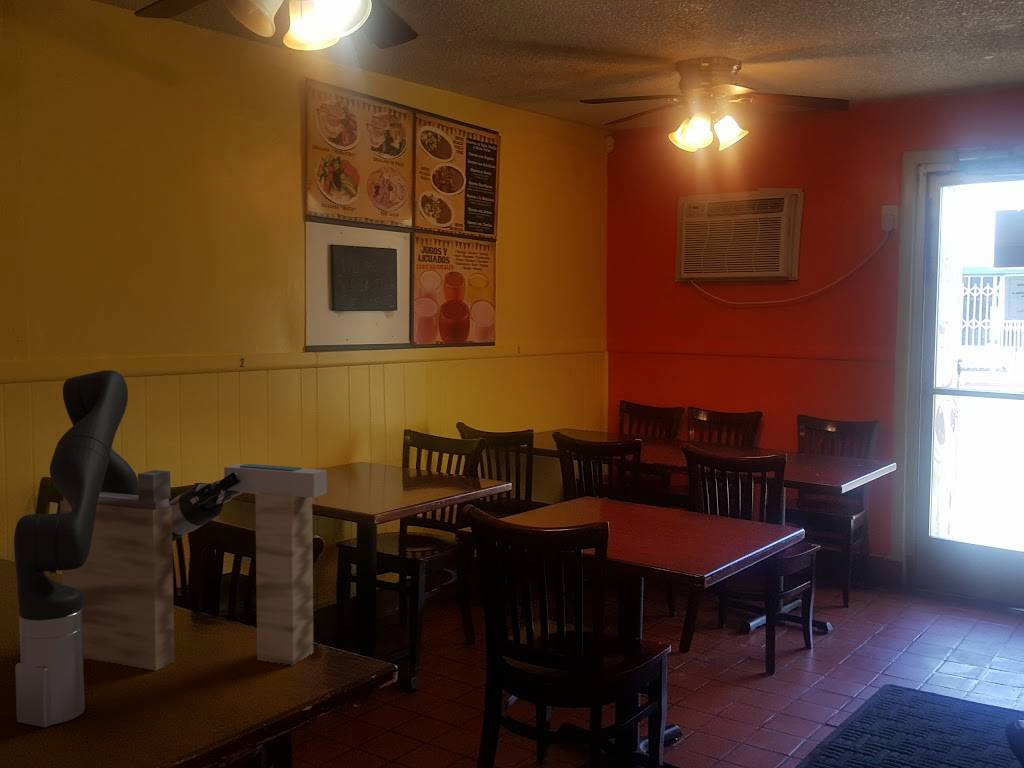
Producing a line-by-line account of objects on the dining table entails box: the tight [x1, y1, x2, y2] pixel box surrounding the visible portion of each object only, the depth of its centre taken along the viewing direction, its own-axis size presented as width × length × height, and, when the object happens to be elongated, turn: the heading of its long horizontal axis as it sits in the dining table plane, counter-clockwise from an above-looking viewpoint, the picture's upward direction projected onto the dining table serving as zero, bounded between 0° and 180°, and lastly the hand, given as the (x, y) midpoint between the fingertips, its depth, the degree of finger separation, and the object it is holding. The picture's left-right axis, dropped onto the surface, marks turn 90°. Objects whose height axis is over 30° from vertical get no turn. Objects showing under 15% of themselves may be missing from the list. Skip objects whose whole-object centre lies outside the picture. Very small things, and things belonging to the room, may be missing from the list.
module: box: [223, 463, 328, 499], centre depth 179 cm, size 20×4×5 cm, turn 70°
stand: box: [254, 493, 314, 666], centre depth 180 cm, size 7×8×32 cm
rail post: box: [59, 469, 175, 671], centre depth 178 cm, size 5×22×36 cm, turn 70°
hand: (251, 473), depth 181 cm, fingers open, 8 cm apart
